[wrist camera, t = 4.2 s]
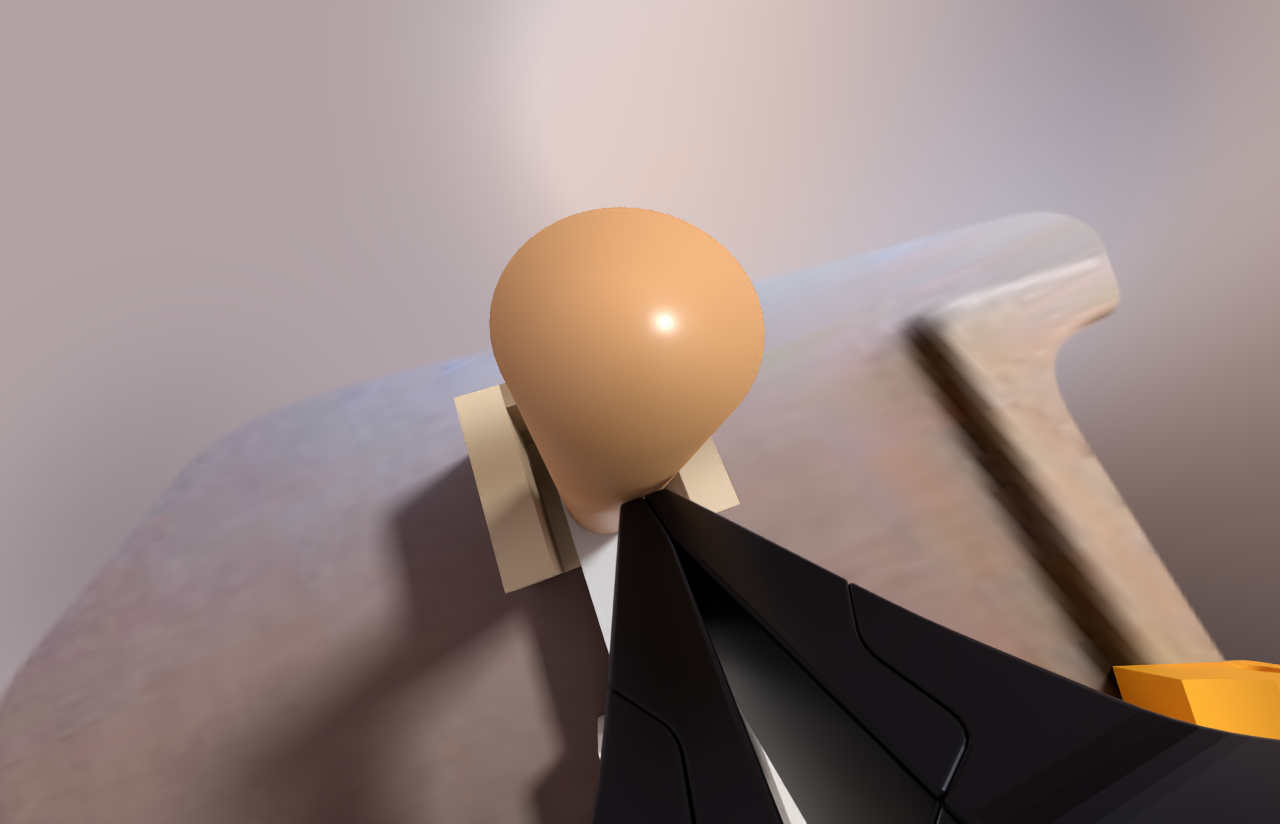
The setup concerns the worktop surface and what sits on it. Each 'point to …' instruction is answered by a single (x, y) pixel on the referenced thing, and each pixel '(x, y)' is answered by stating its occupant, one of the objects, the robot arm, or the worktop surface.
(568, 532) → the socket
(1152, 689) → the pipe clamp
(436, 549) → the worktop surface
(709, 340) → the slide bolt
